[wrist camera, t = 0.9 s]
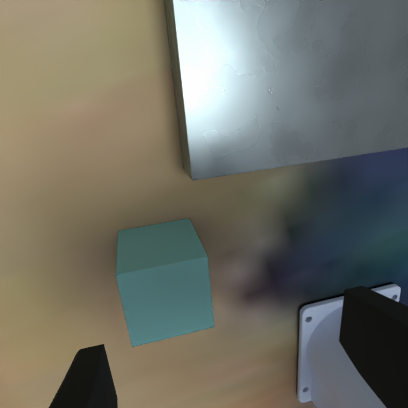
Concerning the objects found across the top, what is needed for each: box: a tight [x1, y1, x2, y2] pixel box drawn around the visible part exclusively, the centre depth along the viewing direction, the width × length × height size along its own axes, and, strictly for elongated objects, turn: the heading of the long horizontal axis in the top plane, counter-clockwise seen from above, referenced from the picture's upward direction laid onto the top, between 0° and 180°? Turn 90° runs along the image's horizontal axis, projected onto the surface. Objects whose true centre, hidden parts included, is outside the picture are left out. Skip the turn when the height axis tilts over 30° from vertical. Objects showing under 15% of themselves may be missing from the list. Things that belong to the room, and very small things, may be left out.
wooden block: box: [116, 218, 214, 347], centre depth 16 cm, size 4×4×4 cm
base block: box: [164, 0, 408, 181], centre depth 14 cm, size 12×12×2 cm
